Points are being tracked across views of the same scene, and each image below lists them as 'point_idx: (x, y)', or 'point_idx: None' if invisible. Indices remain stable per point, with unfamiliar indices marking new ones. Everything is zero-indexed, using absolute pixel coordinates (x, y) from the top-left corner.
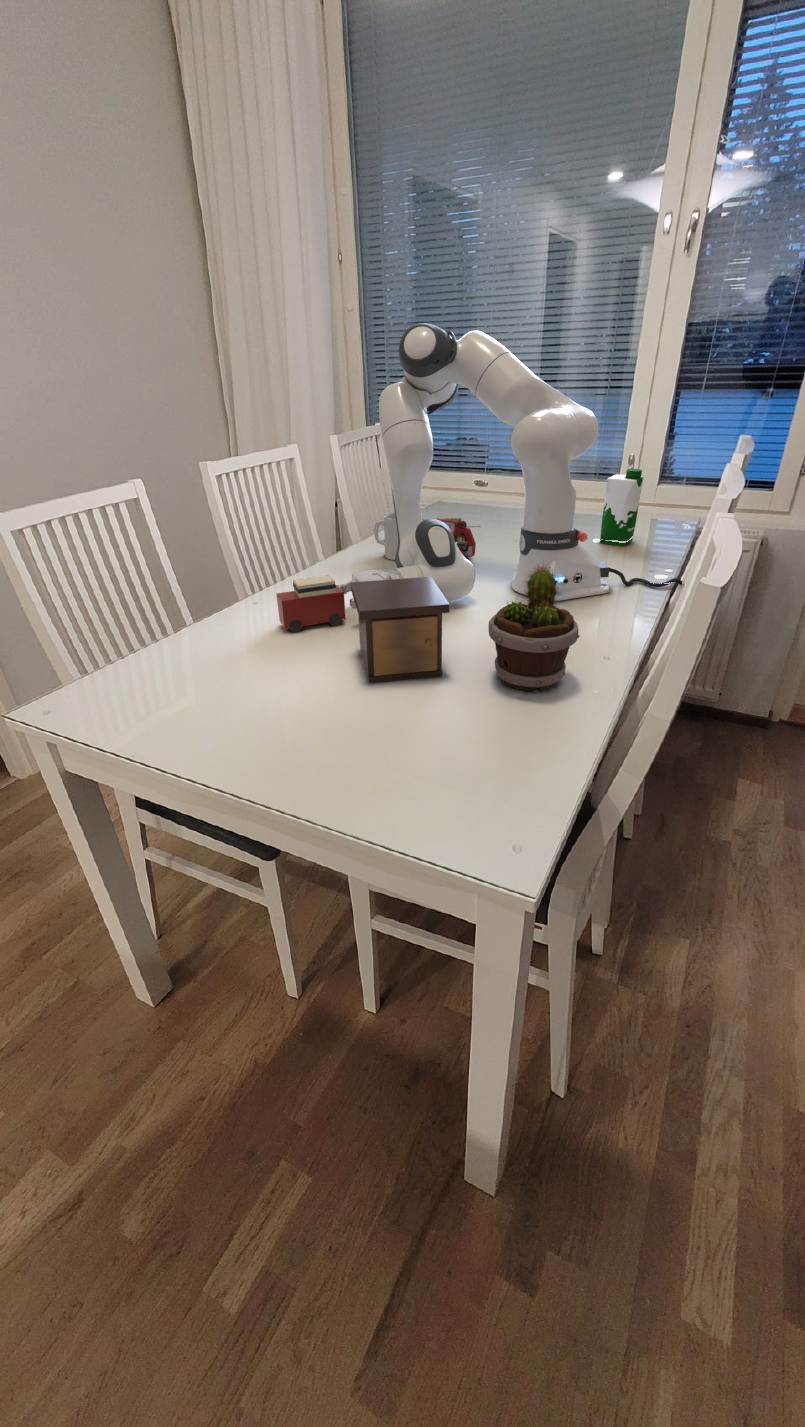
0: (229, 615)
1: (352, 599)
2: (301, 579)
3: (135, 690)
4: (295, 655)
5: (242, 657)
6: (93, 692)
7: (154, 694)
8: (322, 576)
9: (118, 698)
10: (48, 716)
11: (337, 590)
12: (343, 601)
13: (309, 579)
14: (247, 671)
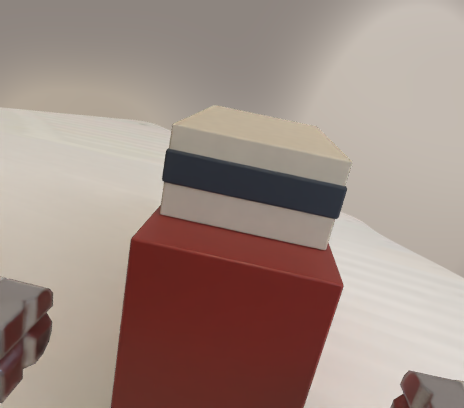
0: (394, 250)
1: (11, 283)
2: (302, 126)
3: (130, 139)
4: (19, 216)
5: (123, 187)
6: (160, 135)
7: (100, 138)
8: (319, 145)
9: (124, 133)
10: (135, 122)
11: (199, 235)
12: (124, 305)
13: (286, 127)
14: (51, 171)
